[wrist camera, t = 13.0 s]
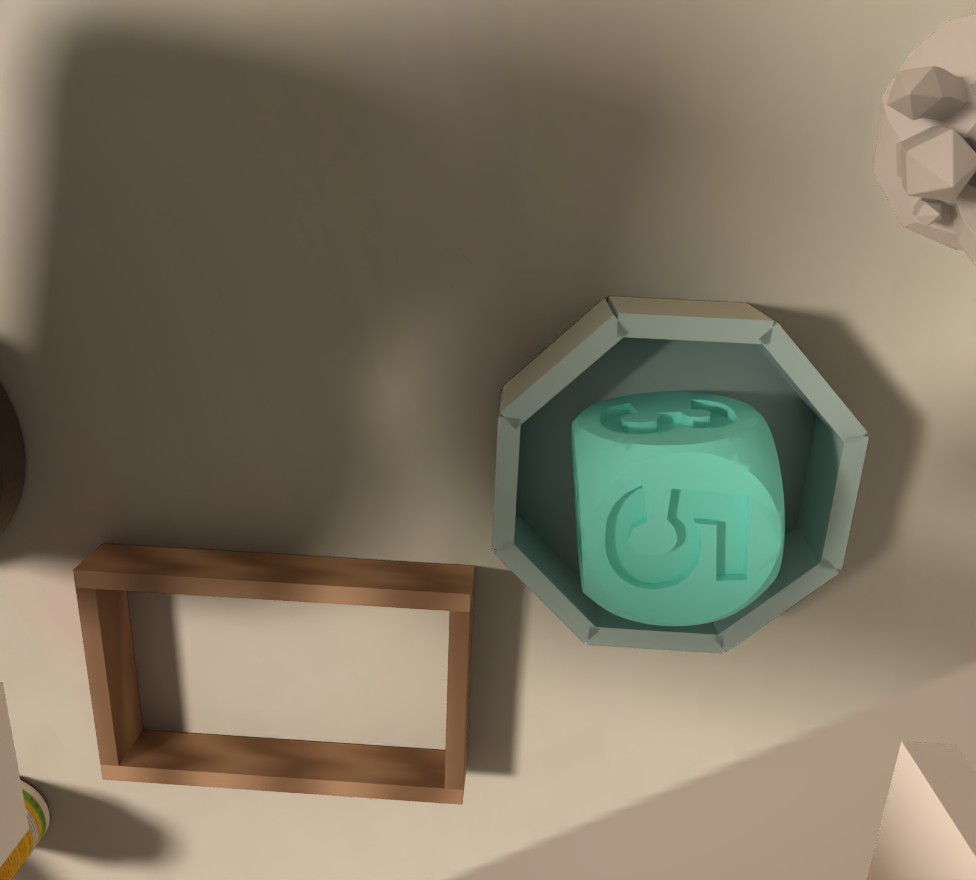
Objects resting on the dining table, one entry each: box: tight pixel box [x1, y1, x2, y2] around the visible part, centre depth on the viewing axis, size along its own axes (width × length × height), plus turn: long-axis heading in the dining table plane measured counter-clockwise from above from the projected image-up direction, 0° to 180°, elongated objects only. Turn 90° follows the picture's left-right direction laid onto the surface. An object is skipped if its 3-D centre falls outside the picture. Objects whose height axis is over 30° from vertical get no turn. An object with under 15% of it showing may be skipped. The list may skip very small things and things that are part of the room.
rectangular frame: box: [73, 544, 474, 804], centre depth 44 cm, size 20×13×3 cm, turn 88°
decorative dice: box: [571, 392, 785, 626], centre depth 36 cm, size 8×8×8 cm
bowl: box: [492, 296, 869, 653], centre depth 38 cm, size 16×16×4 cm
